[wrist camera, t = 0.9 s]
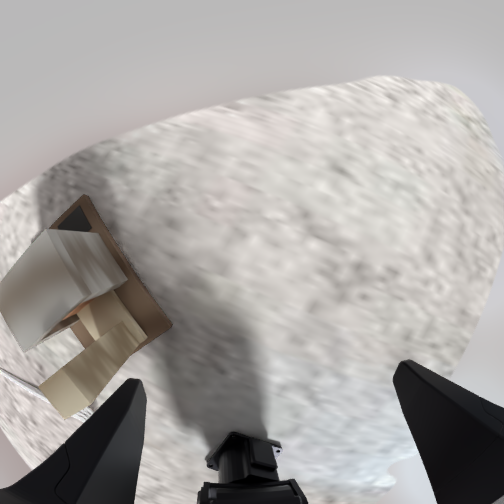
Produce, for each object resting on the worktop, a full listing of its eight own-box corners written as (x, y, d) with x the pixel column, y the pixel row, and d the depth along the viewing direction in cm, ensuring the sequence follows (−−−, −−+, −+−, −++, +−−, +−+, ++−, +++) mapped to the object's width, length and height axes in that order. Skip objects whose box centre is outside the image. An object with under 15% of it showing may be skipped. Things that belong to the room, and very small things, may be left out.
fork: (-11, 350, 22) (-19, 354, 20) (106, 408, 24) (99, 416, 22) (-8, 370, 22) (-15, 374, 20) (107, 429, 24) (101, 437, 22)
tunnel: (172, 324, 24) (146, 367, 14) (107, 369, 23) (66, 417, 14) (88, 196, 23) (30, 175, 13) (32, 251, 22) (-29, 254, 13)
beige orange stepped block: (147, 337, 22) (98, 399, 11) (115, 359, 22) (59, 422, 11) (85, 244, 22) (2, 245, 11) (56, 272, 21) (-26, 286, 10)
